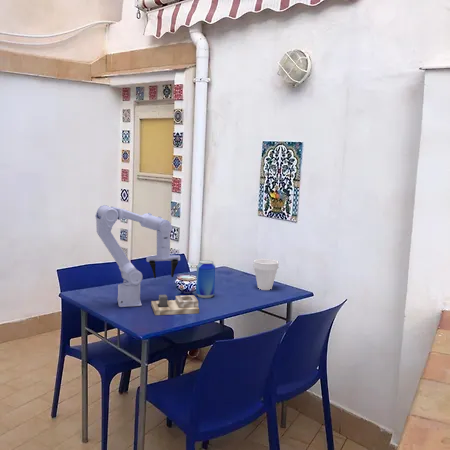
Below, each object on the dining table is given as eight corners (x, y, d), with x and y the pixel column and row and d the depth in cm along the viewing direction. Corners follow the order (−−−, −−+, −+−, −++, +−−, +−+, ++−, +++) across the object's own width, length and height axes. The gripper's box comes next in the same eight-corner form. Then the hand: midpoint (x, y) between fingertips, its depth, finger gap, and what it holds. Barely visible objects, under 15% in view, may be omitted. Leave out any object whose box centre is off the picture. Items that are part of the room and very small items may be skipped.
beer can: (198, 298, 231) (199, 263, 229) (194, 293, 239) (195, 259, 237) (216, 298, 233) (217, 263, 231) (211, 293, 241) (213, 259, 239)
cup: (278, 292, 247) (279, 264, 245) (252, 291, 247) (254, 263, 245) (276, 285, 259) (277, 259, 257) (251, 284, 259) (253, 258, 257)
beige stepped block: (155, 315, 206) (155, 304, 206) (151, 305, 219) (151, 295, 218) (199, 313, 211) (199, 302, 210) (192, 303, 223) (193, 293, 223)
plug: (159, 311, 211) (160, 297, 210) (158, 308, 215) (158, 294, 214) (167, 311, 212) (167, 297, 211) (165, 308, 216) (166, 294, 215)
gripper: (147, 249, 218) (147, 280, 220) (181, 247, 221) (181, 278, 224) (145, 245, 225) (146, 276, 227) (178, 244, 228) (179, 274, 230)
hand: (163, 277), depth 226 cm, fingers open, 7 cm apart
